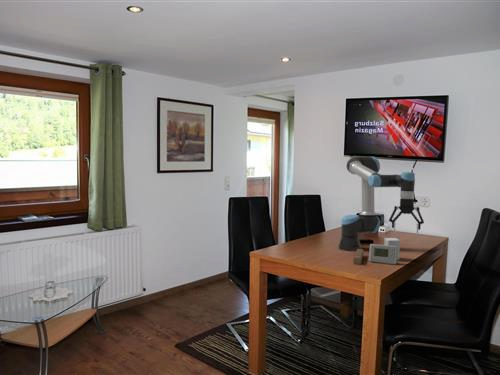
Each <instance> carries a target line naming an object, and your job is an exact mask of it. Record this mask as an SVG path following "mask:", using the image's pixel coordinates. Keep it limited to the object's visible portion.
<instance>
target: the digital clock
mask: <svg viewBox="0 0 500 375" xmlns="http://www.w3.org/2000/svg"><path fill="white" fill-rule="evenodd" d="M368 254H369V255H368V261H369V263H370V262H371V263H376V264H382V265H383V264H385V265H396V264H397V262H398V260H397V247H396V246H390V245H384V244H380V243H379V244H377V243H370V245H369V252H368Z"/></svg>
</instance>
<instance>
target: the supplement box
mask: <svg viewBox="0 0 500 375" xmlns="http://www.w3.org/2000/svg"><path fill="white" fill-rule="evenodd" d="M383 242H384V244H383V245H390V246H396V247H397V261H400V255H401V254H400V250H401V244H400V243H401V240H400V239H398V238H396V237H384V241H383Z"/></svg>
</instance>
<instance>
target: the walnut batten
mask: <svg viewBox="0 0 500 375" xmlns="http://www.w3.org/2000/svg"><path fill="white" fill-rule="evenodd" d="M363 257H364V249H363V248H361V249H357V251H355V253H354V257H353V265H360V266H361V265H362V262H363Z"/></svg>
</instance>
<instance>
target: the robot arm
mask: <svg viewBox="0 0 500 375" xmlns="http://www.w3.org/2000/svg"><path fill="white" fill-rule="evenodd" d="M346 169H347V171H348V172H349V173H350V174H352V175H356V176H358V177H360V178H361V212H360V213H359V214H358V215H357V214H347V215H344V216H342V218H341V237H340V240H339V242H338V249H340V250H343V251H351V252H353V251H355V252H356V251H357V249H362V247H361V246H362V245H361V242H360V240H359V234H373V233H374V234H375V233H377V232H378V231H379V230H380V227H381V220H380V217H378V214H377V213H376V212H375V188H400V192H399V194H400V198H399V206H397V205H394V208H393V211H392V213H391V215H390V217H389V219H388V221H389V223H391V229H393V234H394V235H395V234H396V221H397V220H398V219H399V217H400V216H401V215H402V214H405V215H406V214H407V215H410V214H411V216H412V217H413V219H415V221H416V222H417V223H416V236H419V230H421V226H422V224H424V223H425V221H424V219H423V216H422V214H421V212H420V206H416V207H415V206H414V204H415V199H414V198H415V184H416V178H415V172H411V171H403V172H402V171H401V173H400V174H380V173H379V172H380V170H381V164H380V160H379V159H378V158H377V157H375V156H353V157H350V158H349V159H348V161H347V162H346ZM398 209H399V210H400V211H399V212H398V213H397V215H396V216H395V214H396V212H397V210H398ZM414 210H415V211H416V213H417V214H418V216H419V218H418V217H417V216H416V215H415V213H414ZM394 216H395V217H394ZM419 219H420V220H419Z"/></svg>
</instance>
